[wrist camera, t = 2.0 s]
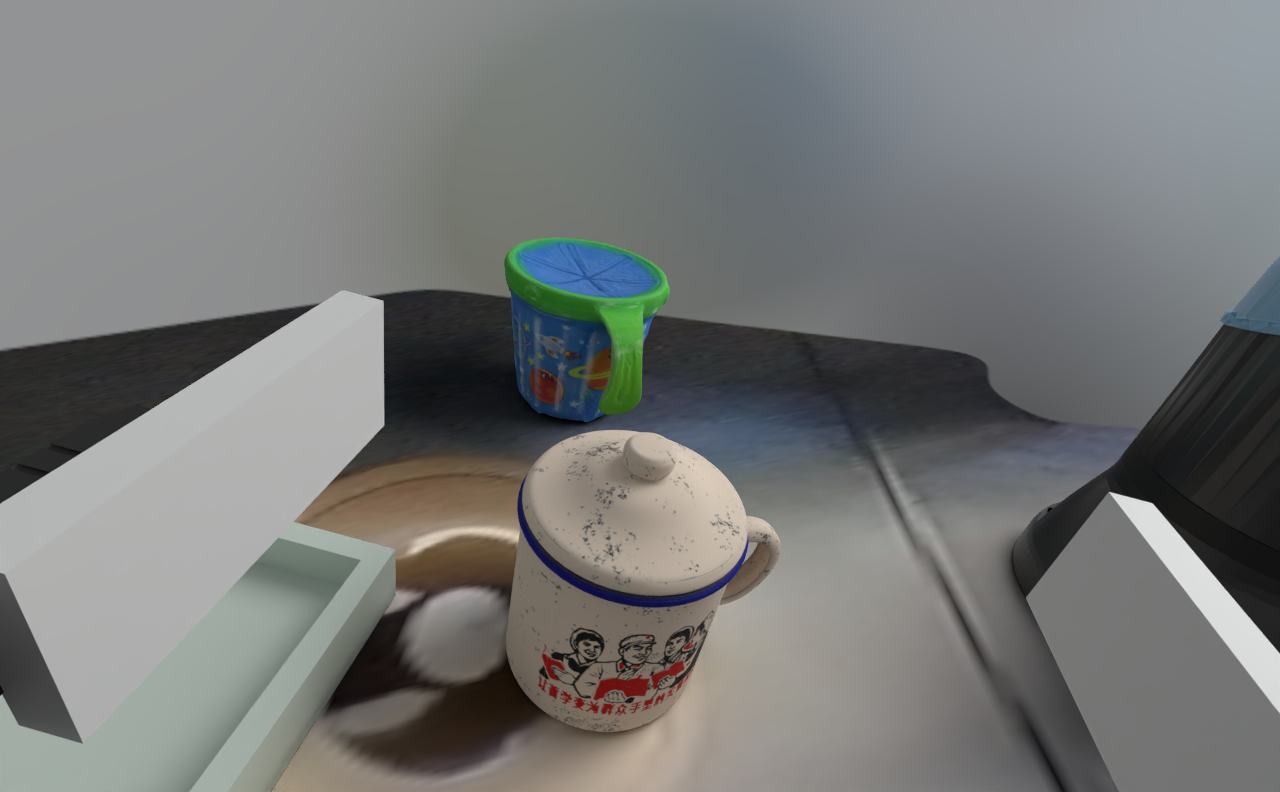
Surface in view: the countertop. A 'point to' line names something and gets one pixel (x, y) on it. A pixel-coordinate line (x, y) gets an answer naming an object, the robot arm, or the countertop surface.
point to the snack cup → (581, 324)
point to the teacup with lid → (624, 575)
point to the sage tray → (227, 681)
